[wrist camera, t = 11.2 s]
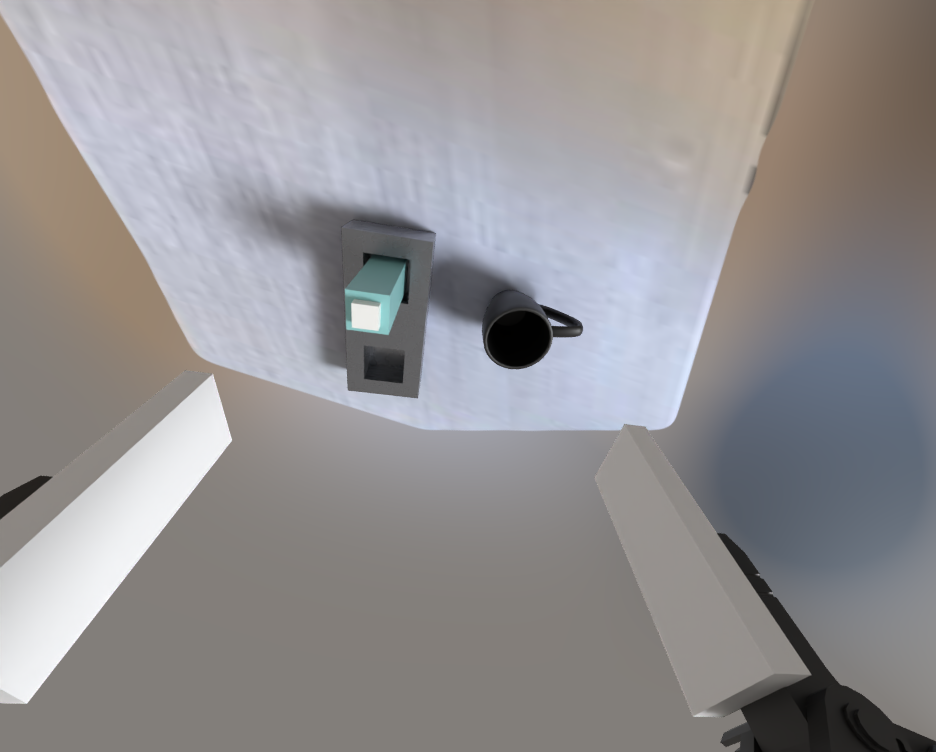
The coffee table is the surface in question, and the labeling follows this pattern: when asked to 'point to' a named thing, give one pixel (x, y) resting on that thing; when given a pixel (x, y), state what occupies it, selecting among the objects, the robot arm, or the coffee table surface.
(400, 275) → the plug
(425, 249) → the socket panel
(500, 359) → the mug
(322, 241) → the coffee table surface
